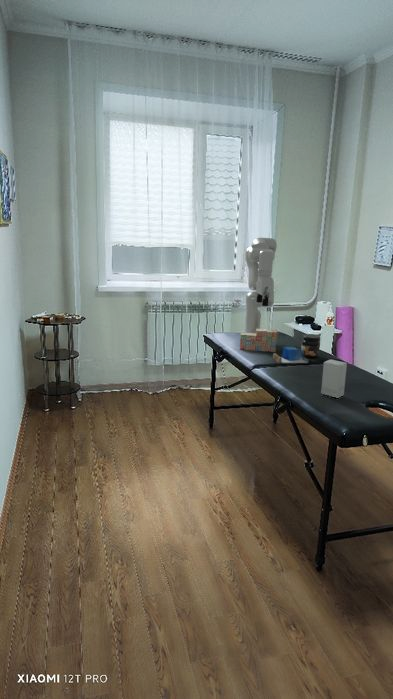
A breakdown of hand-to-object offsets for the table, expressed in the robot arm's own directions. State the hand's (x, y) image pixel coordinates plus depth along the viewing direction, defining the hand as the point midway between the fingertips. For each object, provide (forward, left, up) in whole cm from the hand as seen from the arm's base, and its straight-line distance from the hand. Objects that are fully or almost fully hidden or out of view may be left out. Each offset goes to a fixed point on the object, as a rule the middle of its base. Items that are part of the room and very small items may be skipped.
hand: (262, 304), depth 256 cm
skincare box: (+66, +13, -30) cm, 74 cm away
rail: (+12, +7, -29) cm, 33 cm away
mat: (+12, +16, -29) cm, 36 cm away
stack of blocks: (-11, +3, -30) cm, 32 cm away
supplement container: (+3, +30, -30) cm, 42 cm away
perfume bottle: (+11, +12, -26) cm, 31 cm away
